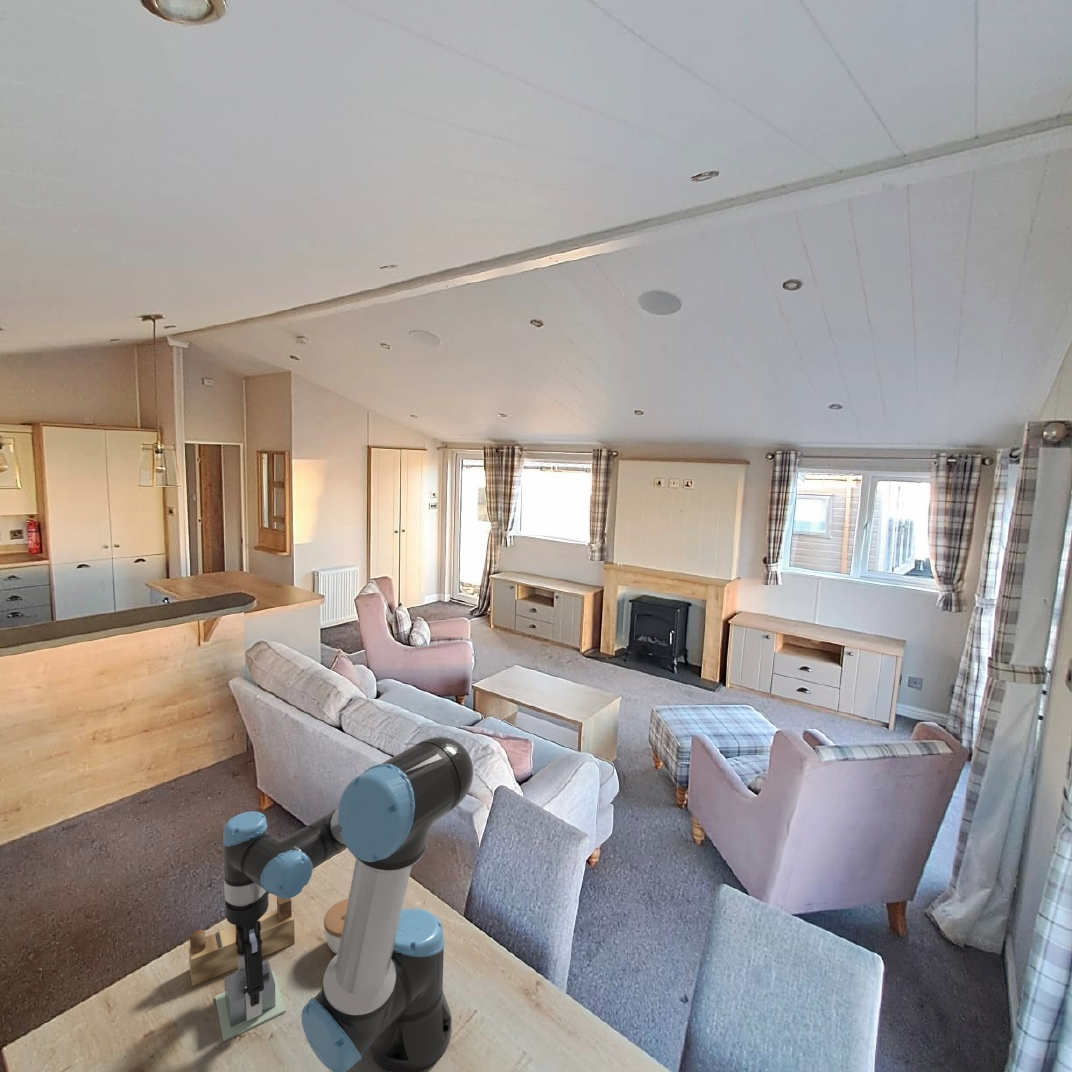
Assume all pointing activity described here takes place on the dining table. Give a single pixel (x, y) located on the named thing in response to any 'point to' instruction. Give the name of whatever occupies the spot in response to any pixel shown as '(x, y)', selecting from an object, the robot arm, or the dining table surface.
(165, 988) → the dining table surface
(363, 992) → the robot arm
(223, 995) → the felt pad
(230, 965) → the plane body
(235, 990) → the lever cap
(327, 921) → the lidded jar
